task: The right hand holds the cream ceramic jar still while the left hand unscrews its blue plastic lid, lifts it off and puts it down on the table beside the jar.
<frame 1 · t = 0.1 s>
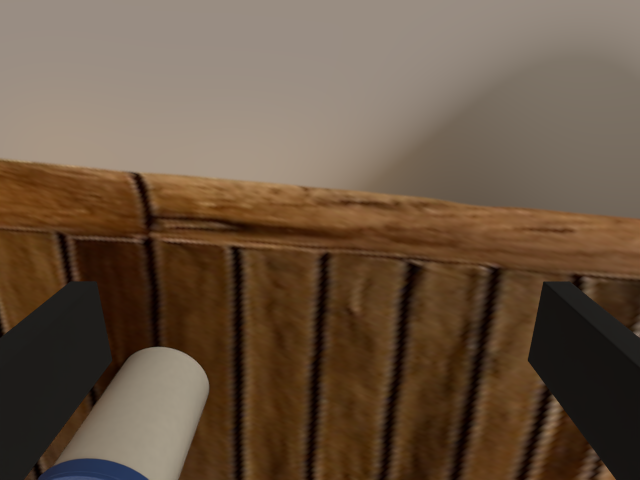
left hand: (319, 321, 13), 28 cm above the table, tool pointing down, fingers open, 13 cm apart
jar: (164, 384, 48), on the table
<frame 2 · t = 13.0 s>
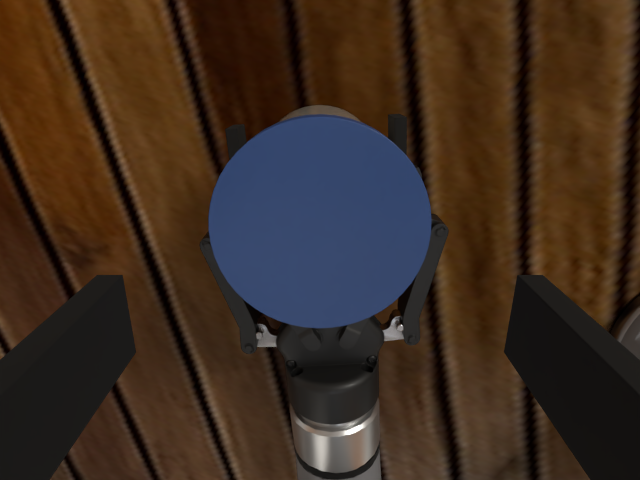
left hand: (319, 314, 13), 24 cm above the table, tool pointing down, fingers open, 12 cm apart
jar: (319, 167, 36), on the table, touching right hand
lid: (319, 229, 21), point 16 cm above the table, screwed on, not yet turned
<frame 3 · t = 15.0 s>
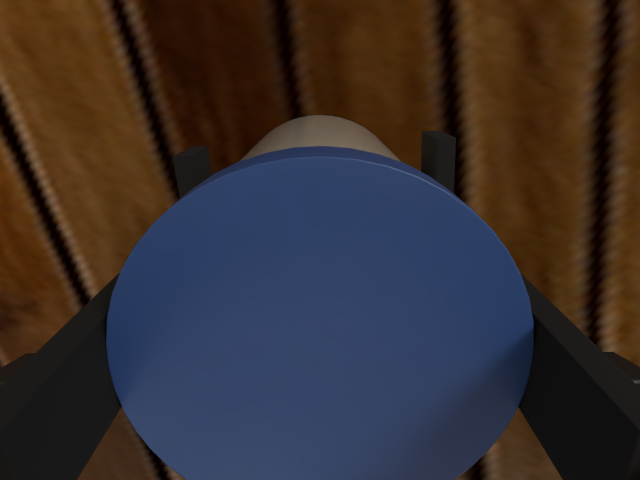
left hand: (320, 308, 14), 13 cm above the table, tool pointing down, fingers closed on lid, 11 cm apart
jar: (320, 199, 26), on the table, touching right hand
lid: (319, 360, 11), point 16 cm above the table, screwed on, not yet turned, touching left hand
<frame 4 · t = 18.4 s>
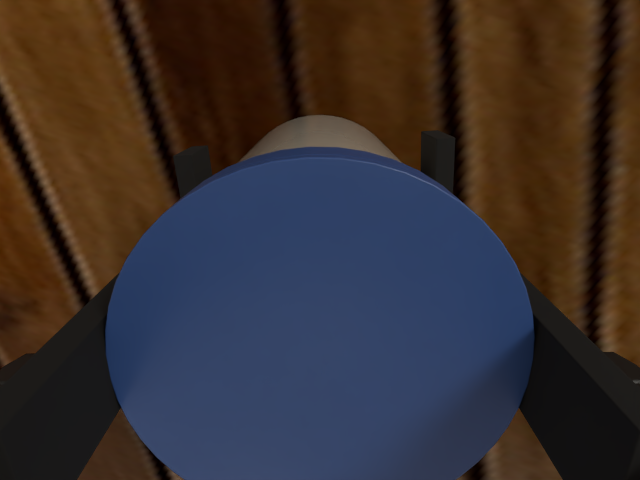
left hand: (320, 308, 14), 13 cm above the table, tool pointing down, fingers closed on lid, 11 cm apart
jar: (319, 199, 26), on the table, touching right hand
lid: (319, 361, 11), point 16 cm above the table, turned 93° so far, risen 0.1 cm, still on its thread, touching left hand
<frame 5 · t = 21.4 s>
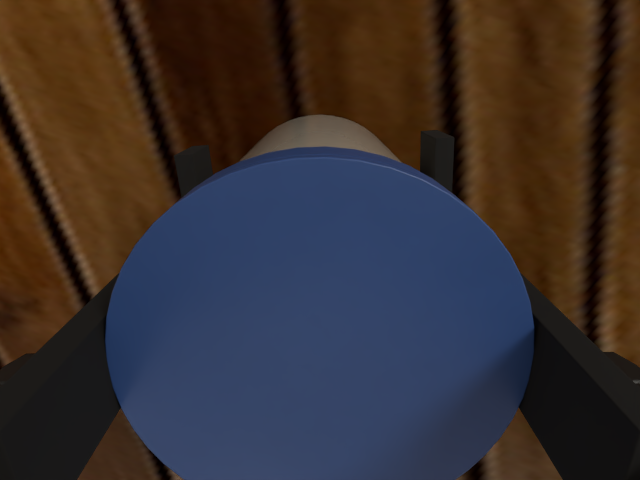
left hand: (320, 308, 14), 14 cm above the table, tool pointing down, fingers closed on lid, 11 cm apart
jar: (320, 198, 26), on the table, touching right hand
lid: (319, 361, 11), point 16 cm above the table, turned 187° so far, risen 0.2 cm, still on its thread, touching left hand
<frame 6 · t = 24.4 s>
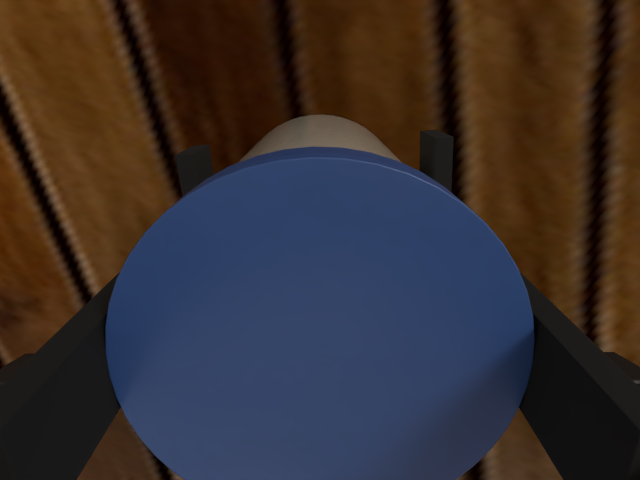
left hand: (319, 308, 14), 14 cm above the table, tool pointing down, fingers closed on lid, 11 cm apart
jar: (319, 198, 26), on the table, touching right hand
lid: (319, 361, 11), point 16 cm above the table, turned 280° so far, risen 0.4 cm, still on its thread, touching left hand
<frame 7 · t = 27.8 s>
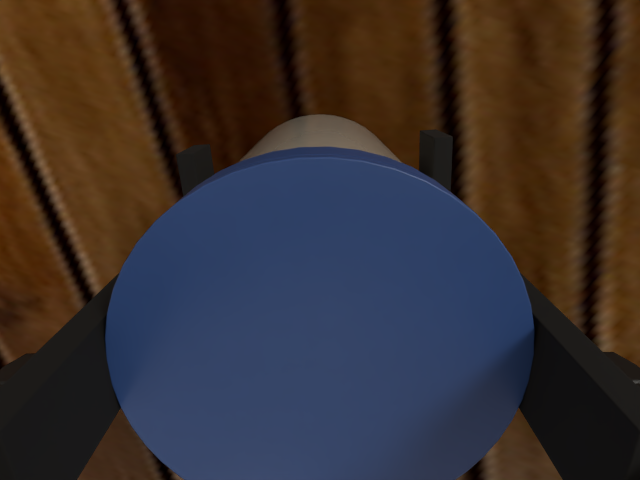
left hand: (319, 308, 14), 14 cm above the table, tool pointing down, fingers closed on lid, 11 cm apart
jar: (320, 197, 27), on the table, touching right hand
lid: (319, 361, 11), point 16 cm above the table, turned 373° so far, risen 0.5 cm, still on its thread, touching left hand
when the left hand's fingers open (0 cm above the table, at t = 37.2 s): lid drops 2 cm, point 1 cm above the table.
when the right hand's fingers open (6 cm above the table, at t = 38.3 s): jar stays where it is, on the table.
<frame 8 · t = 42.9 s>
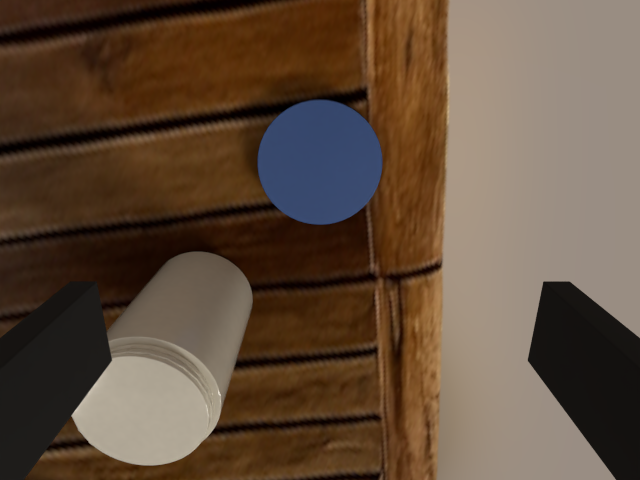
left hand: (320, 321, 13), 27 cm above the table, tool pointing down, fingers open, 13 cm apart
jar: (202, 297, 43), on the table
lid: (319, 164, 37), point 1 cm above the table, off its thread
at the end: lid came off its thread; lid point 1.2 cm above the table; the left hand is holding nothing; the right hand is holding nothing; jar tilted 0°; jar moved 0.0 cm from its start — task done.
